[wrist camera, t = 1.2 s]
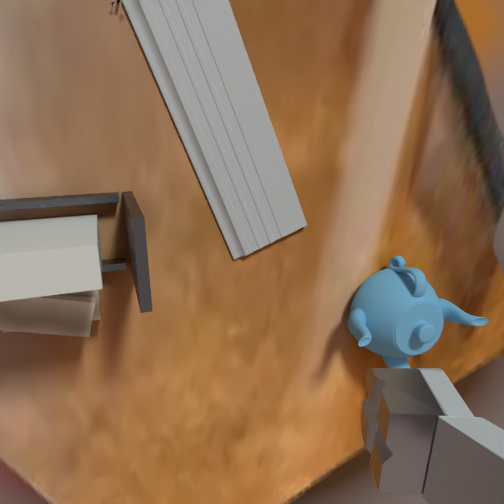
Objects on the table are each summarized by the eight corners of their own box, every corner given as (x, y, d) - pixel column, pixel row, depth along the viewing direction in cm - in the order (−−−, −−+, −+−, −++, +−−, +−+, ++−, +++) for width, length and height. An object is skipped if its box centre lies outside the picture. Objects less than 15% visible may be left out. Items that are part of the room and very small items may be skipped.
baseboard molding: (221, 262, 59) (302, 222, 61) (228, 269, 56) (311, 227, 58) (108, 6, 47) (212, -32, 49) (109, 0, 44) (219, -41, 46)
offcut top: (4, 286, 47) (0, 293, 45) (95, 296, 50) (95, 303, 49) (-1, 322, 48) (-4, 330, 46) (89, 329, 51) (89, 337, 49)
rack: (-55, 203, 47) (-118, 238, 33) (131, 191, 52) (144, 217, 38) (-38, 282, 49) (-90, 345, 35) (138, 263, 54) (152, 311, 41)
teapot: (389, 237, 65) (439, 257, 56) (442, 298, 71) (494, 326, 62) (320, 312, 65) (357, 345, 55) (378, 368, 71) (421, 406, 61)
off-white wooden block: (-23, 223, 48) (-66, 260, 35) (97, 213, 52) (97, 245, 39) (-16, 259, 49) (-55, 308, 36) (101, 247, 53) (102, 288, 40)
